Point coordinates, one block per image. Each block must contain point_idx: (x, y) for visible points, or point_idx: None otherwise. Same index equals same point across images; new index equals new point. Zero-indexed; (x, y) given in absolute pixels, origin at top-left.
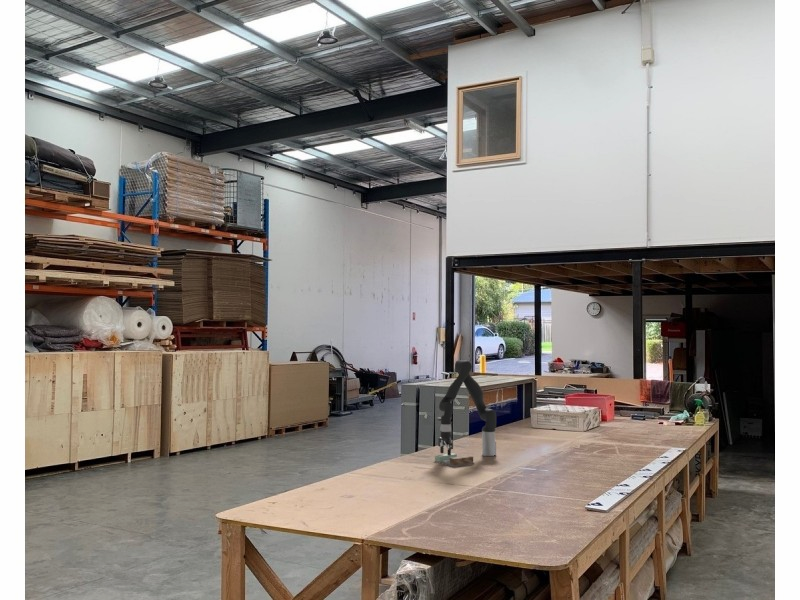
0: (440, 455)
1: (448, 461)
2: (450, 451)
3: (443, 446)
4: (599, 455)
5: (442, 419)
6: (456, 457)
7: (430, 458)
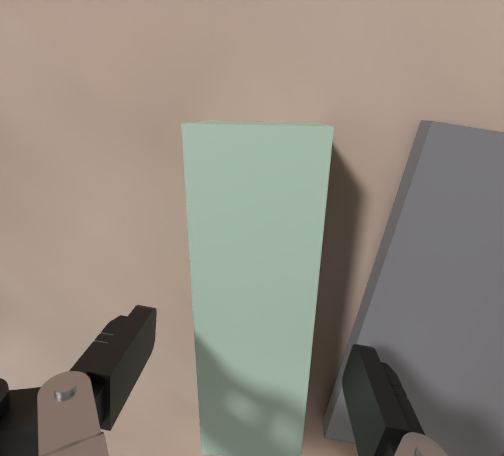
0: (234, 403)
1: (405, 385)
2: (411, 418)
3: (95, 409)
4: None
5: None
6: None
7: (53, 321)
